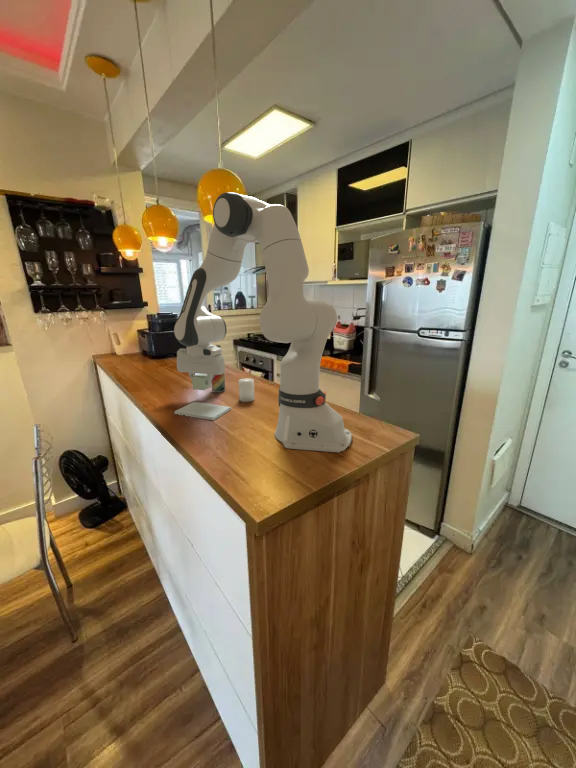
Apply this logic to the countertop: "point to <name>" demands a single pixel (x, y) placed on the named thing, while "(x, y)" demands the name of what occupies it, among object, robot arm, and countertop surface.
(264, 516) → the countertop surface
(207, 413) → the tray
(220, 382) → the lotion bottle
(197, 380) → the sage block
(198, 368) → the robot arm
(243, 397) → the white rounded cylinder
